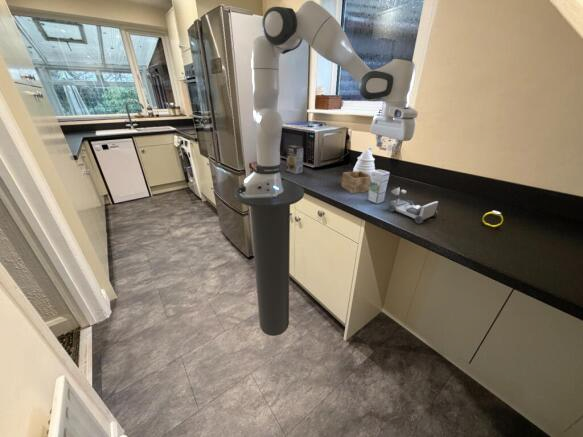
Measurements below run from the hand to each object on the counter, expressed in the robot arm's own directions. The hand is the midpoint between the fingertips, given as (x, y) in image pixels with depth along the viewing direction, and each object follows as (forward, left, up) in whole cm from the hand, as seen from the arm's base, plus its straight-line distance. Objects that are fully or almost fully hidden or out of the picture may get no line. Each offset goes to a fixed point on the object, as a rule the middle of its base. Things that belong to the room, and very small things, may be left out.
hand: (386, 148), depth 93 cm
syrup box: (+4, +6, -26) cm, 27 cm away
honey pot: (+19, +38, -26) cm, 49 cm away
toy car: (+10, -9, -26) cm, 29 cm away
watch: (+32, -28, -26) cm, 50 cm away
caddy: (+4, +23, -26) cm, 34 cm away
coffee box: (-17, +62, -26) cm, 69 cm away
